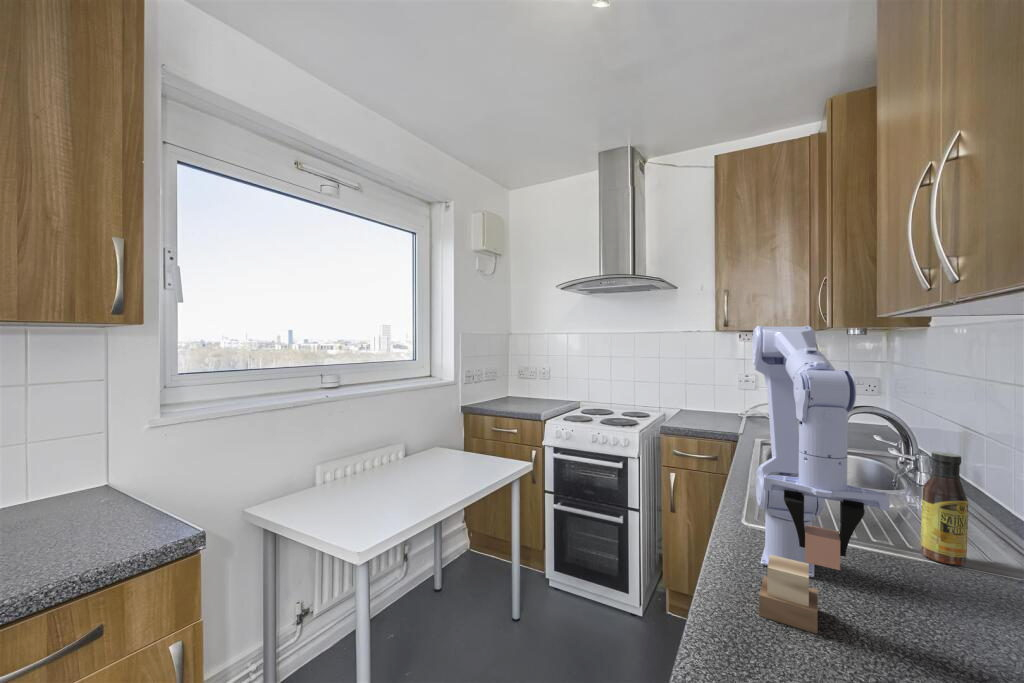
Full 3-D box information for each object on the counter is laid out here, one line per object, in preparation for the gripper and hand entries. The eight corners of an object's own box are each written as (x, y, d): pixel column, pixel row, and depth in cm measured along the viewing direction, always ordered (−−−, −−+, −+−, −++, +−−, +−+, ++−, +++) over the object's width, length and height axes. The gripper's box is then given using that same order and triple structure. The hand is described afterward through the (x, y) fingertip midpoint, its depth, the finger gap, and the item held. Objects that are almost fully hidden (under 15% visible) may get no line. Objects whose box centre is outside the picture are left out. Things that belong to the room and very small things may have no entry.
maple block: (769, 580, 68) (769, 554, 69) (808, 590, 66) (808, 563, 66) (767, 595, 64) (767, 567, 64) (808, 606, 62) (808, 577, 62)
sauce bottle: (944, 567, 80) (944, 457, 80) (911, 551, 86) (911, 449, 87) (978, 567, 80) (978, 457, 81) (943, 551, 87) (943, 450, 87)
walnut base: (763, 594, 70) (764, 575, 70) (817, 609, 66) (817, 589, 66) (759, 615, 64) (759, 594, 64) (817, 634, 60) (817, 611, 60)
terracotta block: (805, 551, 66) (805, 524, 66) (838, 559, 64) (838, 531, 64) (805, 562, 62) (805, 533, 63) (840, 570, 60) (840, 540, 60)
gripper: (762, 451, 64) (761, 545, 64) (893, 468, 56) (892, 576, 56) (766, 443, 70) (765, 529, 70) (885, 457, 62) (884, 555, 62)
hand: (821, 549), depth 63 cm, fingers closed on terracotta block, 4 cm apart
